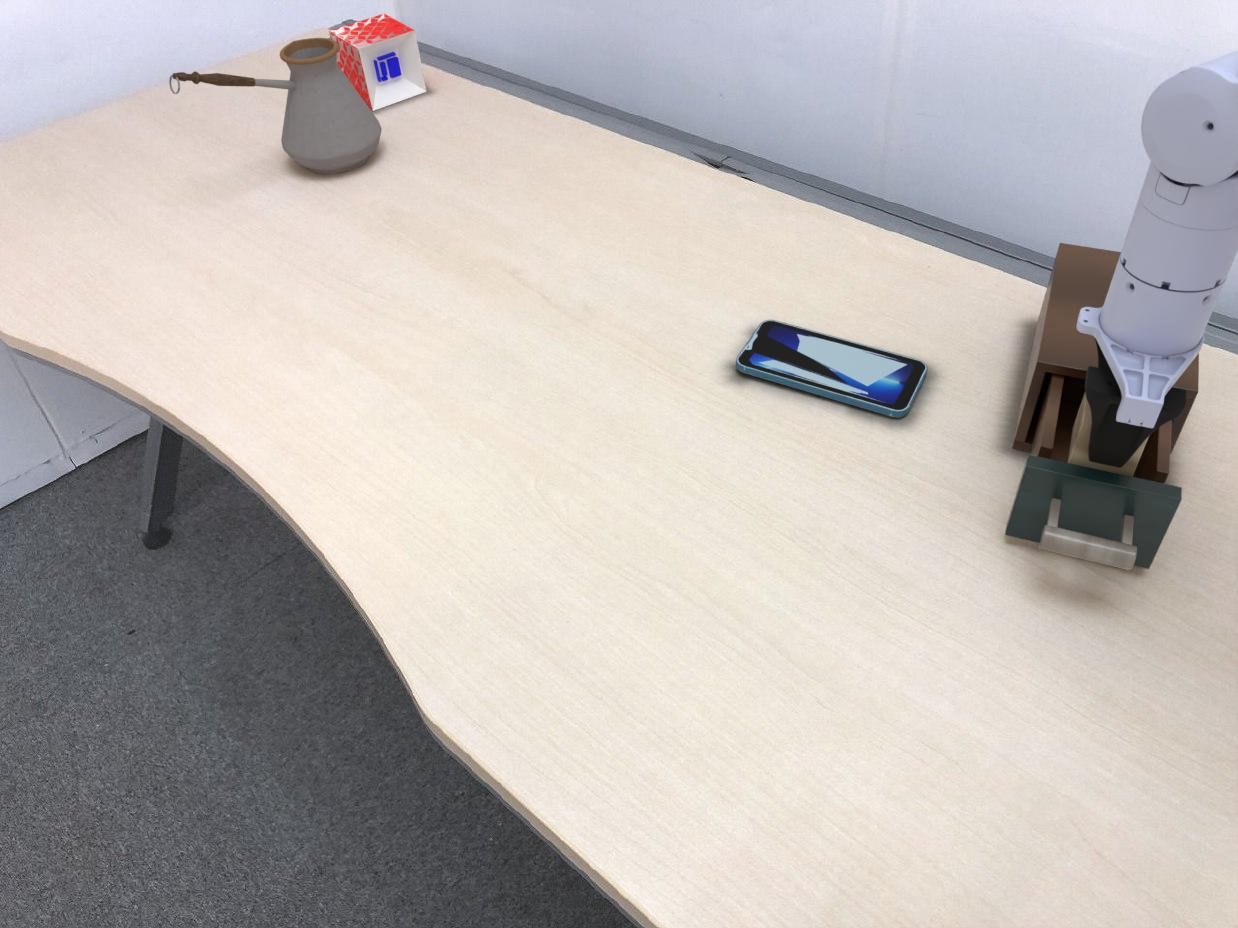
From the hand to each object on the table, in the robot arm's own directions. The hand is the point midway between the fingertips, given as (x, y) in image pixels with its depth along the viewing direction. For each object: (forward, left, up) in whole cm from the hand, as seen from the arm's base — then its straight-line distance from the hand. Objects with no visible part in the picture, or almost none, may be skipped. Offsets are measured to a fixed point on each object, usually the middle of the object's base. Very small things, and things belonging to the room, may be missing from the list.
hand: (1107, 438), depth 69 cm
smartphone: (+22, -7, -8) cm, 25 cm away
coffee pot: (+90, -11, -8) cm, 91 cm away
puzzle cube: (+96, -32, -8) cm, 102 cm away
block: (0, 0, -1) cm, 1 cm away
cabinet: (+3, -14, -8) cm, 17 cm away
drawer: (0, -2, -7) cm, 7 cm away
